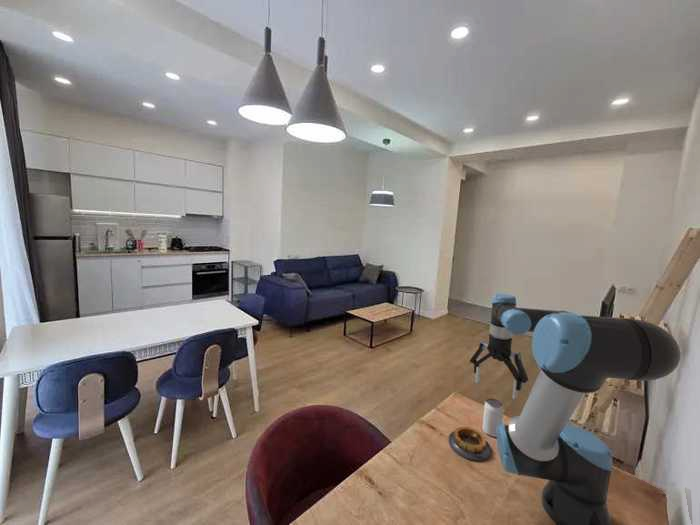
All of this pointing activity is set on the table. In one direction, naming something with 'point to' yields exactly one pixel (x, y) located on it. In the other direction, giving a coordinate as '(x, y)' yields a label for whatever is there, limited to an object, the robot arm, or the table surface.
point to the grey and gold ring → (469, 444)
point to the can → (492, 416)
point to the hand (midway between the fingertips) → (495, 389)
